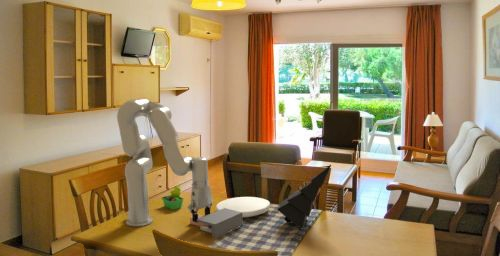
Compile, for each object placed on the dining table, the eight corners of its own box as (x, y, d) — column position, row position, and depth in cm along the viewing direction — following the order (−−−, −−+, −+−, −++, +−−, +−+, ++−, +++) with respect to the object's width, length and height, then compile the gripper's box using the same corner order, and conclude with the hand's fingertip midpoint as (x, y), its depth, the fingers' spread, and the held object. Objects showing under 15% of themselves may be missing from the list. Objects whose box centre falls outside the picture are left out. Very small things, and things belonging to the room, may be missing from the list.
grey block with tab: (194, 232, 194) (193, 218, 193) (221, 220, 209) (221, 207, 208) (215, 238, 186) (215, 224, 185) (242, 225, 201) (242, 212, 200)
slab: (190, 224, 205) (189, 217, 205) (198, 220, 210) (198, 213, 209) (208, 229, 198) (208, 222, 197) (216, 225, 202) (216, 218, 202)
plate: (210, 211, 208) (219, 195, 234) (212, 224, 209) (221, 207, 235) (267, 206, 205) (270, 191, 231) (269, 219, 206) (271, 202, 232)
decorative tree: (297, 236, 196) (343, 178, 186) (271, 216, 198) (315, 158, 188) (302, 224, 210) (345, 170, 200) (278, 206, 212) (319, 151, 202)
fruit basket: (161, 206, 232) (160, 186, 230) (174, 202, 238) (174, 183, 236) (172, 211, 223) (171, 190, 222) (186, 207, 229) (185, 187, 228)
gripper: (192, 189, 192) (194, 226, 195) (218, 180, 206) (219, 215, 208) (181, 186, 197) (182, 222, 199) (207, 178, 210) (208, 212, 213)
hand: (201, 218), depth 204 cm, fingers open, 7 cm apart
